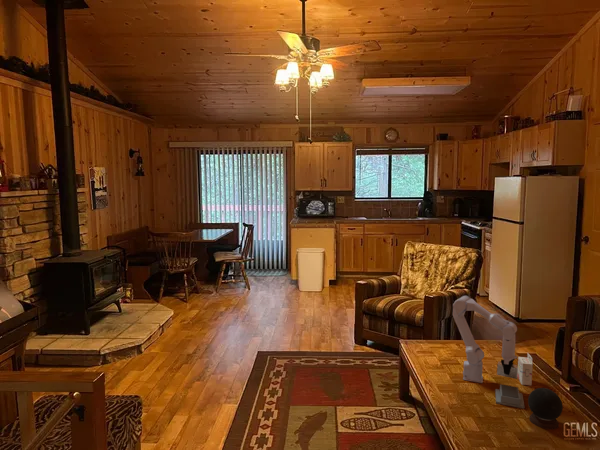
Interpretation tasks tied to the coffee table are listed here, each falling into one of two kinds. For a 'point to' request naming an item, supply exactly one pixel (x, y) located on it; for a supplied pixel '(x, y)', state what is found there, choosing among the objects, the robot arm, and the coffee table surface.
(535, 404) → the black ball on base
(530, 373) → the ink cartridge box
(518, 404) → the stand
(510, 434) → the coffee table surface
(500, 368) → the housing
